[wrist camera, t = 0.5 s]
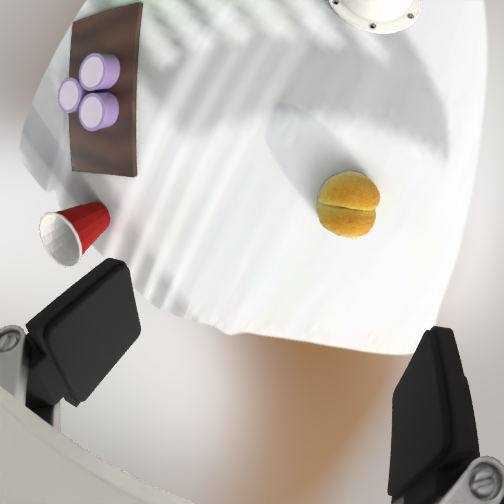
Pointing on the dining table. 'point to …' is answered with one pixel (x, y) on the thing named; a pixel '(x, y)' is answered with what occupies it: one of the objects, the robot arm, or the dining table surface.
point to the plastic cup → (72, 231)
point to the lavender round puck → (98, 111)
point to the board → (124, 129)
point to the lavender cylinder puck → (71, 94)
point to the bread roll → (348, 204)
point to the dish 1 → (99, 71)
